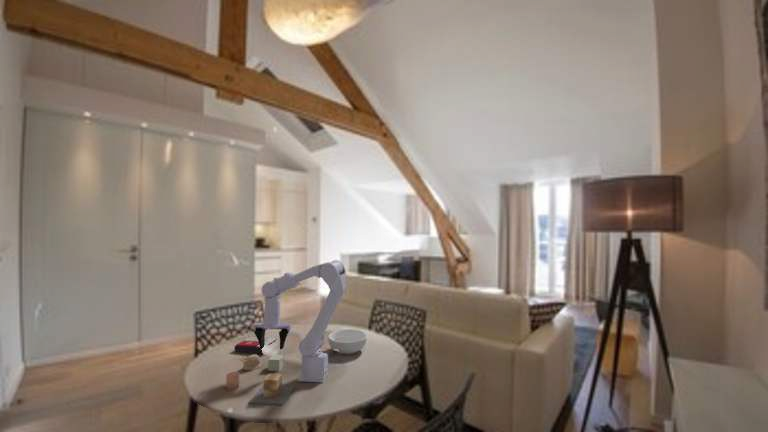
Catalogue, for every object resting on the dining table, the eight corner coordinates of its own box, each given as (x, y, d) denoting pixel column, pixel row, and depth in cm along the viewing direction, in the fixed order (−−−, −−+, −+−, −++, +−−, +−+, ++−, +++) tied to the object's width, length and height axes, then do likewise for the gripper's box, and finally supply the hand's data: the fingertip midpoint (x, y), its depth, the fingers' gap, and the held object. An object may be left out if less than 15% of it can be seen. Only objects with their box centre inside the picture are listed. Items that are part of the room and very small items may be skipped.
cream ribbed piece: (262, 367, 135) (262, 354, 135) (240, 373, 131) (240, 359, 131) (259, 364, 139) (259, 350, 139) (237, 369, 134) (237, 355, 134)
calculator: (249, 336, 162) (278, 337, 158) (249, 345, 161) (278, 346, 158) (233, 344, 151) (264, 345, 148) (234, 354, 151) (265, 356, 147)
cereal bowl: (320, 352, 151) (320, 336, 151) (345, 341, 165) (345, 326, 165) (349, 362, 141) (350, 344, 141) (373, 349, 155) (374, 333, 155)
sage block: (283, 366, 137) (283, 355, 137) (279, 371, 132) (279, 359, 132) (272, 366, 137) (272, 355, 137) (268, 370, 133) (268, 359, 133)
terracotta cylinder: (241, 384, 121) (241, 372, 121) (235, 390, 117) (235, 377, 117) (230, 384, 122) (230, 371, 122) (224, 389, 118) (224, 376, 118)
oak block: (281, 390, 116) (281, 374, 116) (276, 397, 112) (276, 380, 112) (268, 389, 117) (269, 373, 117) (263, 396, 112) (263, 379, 112)
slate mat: (294, 388, 119) (294, 386, 119) (282, 405, 108) (282, 403, 108) (263, 386, 120) (263, 384, 120) (248, 403, 109) (248, 401, 109)
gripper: (249, 314, 128) (248, 351, 127) (287, 315, 126) (286, 352, 126) (257, 309, 135) (257, 344, 134) (293, 310, 133) (293, 345, 133)
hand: (272, 348), depth 131 cm, fingers open, 7 cm apart
